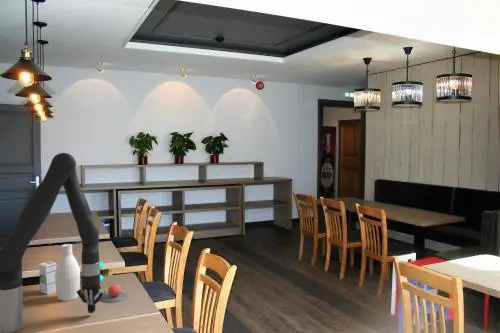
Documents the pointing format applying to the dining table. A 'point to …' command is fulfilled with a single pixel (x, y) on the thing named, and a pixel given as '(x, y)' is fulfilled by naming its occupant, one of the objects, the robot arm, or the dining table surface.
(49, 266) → the syrup box
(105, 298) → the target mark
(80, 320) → the dining table surface
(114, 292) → the ball
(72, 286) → the bottle
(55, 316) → the dining table surface
